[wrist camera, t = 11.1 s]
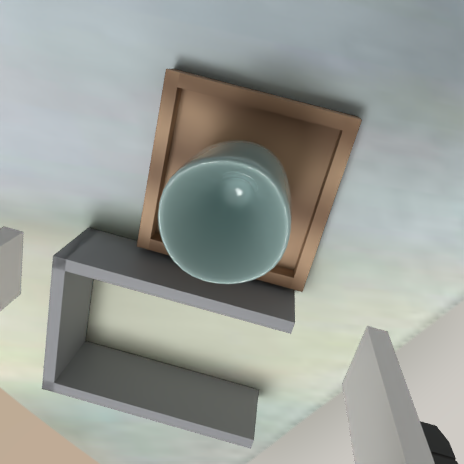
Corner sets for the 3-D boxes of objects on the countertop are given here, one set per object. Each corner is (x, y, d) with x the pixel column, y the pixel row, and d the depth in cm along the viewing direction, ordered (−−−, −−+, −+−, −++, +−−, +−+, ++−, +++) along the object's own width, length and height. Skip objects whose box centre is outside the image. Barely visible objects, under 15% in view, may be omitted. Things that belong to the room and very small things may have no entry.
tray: (173, 68, 32) (166, 69, 30) (357, 116, 31) (361, 119, 30) (144, 237, 37) (136, 246, 35) (301, 280, 37) (302, 291, 35)
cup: (289, 127, 32) (289, 152, 22) (293, 226, 34) (294, 285, 25) (187, 134, 33) (145, 161, 24) (198, 229, 36) (165, 287, 26)
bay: (88, 227, 37) (53, 255, 32) (294, 283, 37) (294, 322, 31) (74, 346, 42) (42, 388, 37) (256, 397, 42) (250, 448, 36)
